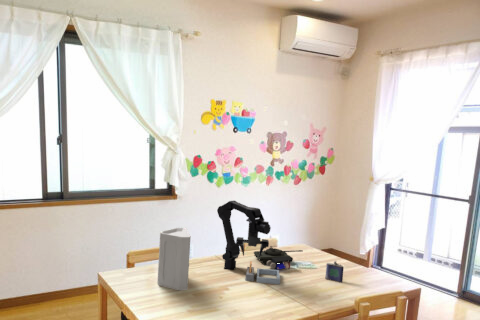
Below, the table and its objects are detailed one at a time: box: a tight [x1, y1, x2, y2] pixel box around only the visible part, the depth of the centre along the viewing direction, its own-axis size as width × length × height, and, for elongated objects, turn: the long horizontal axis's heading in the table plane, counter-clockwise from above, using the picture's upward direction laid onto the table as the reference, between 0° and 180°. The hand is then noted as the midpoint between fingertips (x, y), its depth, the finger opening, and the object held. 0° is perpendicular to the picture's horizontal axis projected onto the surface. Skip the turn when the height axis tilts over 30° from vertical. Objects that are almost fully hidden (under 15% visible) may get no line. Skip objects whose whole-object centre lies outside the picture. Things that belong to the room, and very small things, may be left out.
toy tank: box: [253, 245, 303, 266], centre depth 231 cm, size 12×34×10 cm, turn 106°
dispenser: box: [244, 266, 255, 282], centre depth 200 cm, size 5×12×5 cm, turn 176°
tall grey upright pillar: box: [156, 226, 191, 291], centre depth 185 cm, size 19×15×28 cm
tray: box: [256, 268, 281, 285], centre depth 199 cm, size 13×14×3 cm
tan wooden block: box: [249, 260, 253, 273], centre depth 200 cm, size 1×6×8 cm, turn 176°
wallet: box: [324, 260, 344, 283], centre depth 204 cm, size 10×3×12 cm, turn 65°
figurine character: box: [266, 256, 293, 270], centre depth 216 cm, size 7×8×15 cm
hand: (251, 256), depth 199 cm, fingers open, 9 cm apart
